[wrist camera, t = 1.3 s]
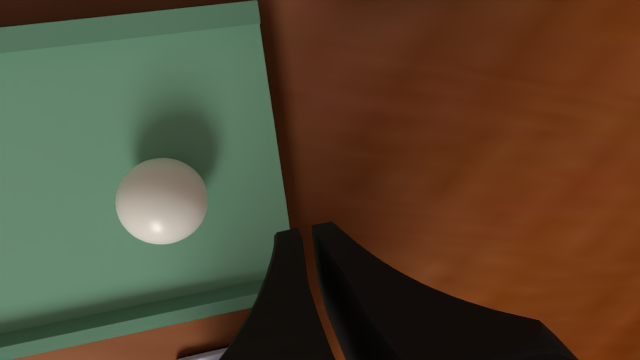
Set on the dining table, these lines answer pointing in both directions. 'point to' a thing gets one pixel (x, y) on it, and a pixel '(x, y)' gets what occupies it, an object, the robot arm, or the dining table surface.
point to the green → (118, 159)
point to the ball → (161, 201)
